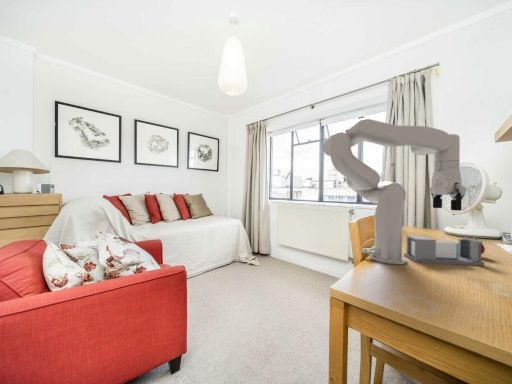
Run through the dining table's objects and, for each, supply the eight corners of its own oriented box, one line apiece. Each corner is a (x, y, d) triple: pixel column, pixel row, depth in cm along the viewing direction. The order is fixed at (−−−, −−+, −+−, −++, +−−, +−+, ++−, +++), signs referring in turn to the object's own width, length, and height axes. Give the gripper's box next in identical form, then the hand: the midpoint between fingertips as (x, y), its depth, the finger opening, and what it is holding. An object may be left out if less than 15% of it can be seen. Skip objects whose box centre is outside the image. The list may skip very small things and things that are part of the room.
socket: (472, 261, 82) (472, 241, 82) (458, 255, 88) (458, 237, 88) (481, 261, 82) (482, 241, 81) (466, 256, 88) (467, 237, 88)
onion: (488, 258, 89) (489, 239, 89) (474, 258, 89) (475, 239, 89) (474, 254, 95) (475, 236, 95) (461, 254, 95) (462, 236, 95)
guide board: (415, 262, 84) (416, 239, 84) (404, 255, 92) (404, 235, 91) (484, 265, 81) (484, 241, 81) (466, 258, 89) (466, 237, 89)
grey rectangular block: (415, 257, 86) (416, 242, 86) (410, 254, 89) (410, 239, 89) (458, 258, 84) (458, 243, 84) (450, 256, 87) (451, 241, 87)
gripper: (422, 168, 94) (422, 207, 95) (453, 164, 77) (452, 211, 77) (440, 168, 93) (440, 207, 94) (476, 163, 76) (476, 211, 76)
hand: (446, 209), depth 85 cm, fingers open, 9 cm apart
